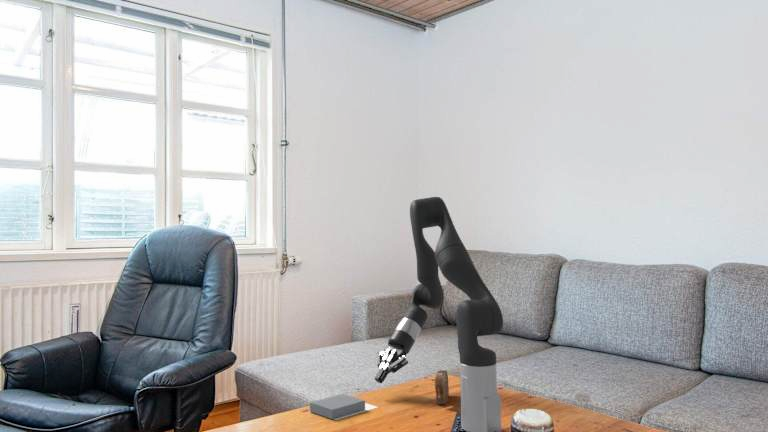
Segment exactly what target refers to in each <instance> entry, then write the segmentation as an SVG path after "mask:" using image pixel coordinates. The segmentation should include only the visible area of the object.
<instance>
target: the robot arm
mask: <svg viewBox="0 0 768 432" xmlns="http://www.w3.org/2000/svg"><path fill="white" fill-rule="evenodd" d="M409 218H410V219H409V220H410V226H411V233H412V238H413V244H414V249H415V250H414V251H415V255H416V276H417V277H416V278H417V281H418V283H420V284H417V285H416V286H415V287H414V288H413V290H412V293H411V299H410V302H409V305H408V308H407V311H406V312H405V313H404V315H403V317H402V319H401V320H400V321H399V322H398V324H397V325H396V327H395V329H394V330H393V332H392V333H391V335H390V337H389V339H388V342H387V346H386V347H385V348H384V350H383V351H376V352H375V356H376V357H375V359H376V366H377V367H378V371H377V373H376V374H375V376H374V380H375V381H376V383H378V384H383V382H384V381H385V380H386V378H387V376H388V375H389V374H391V373H392V374H395V373H397V372H398V371H399V370H401V369H402V368H403V367H405V366H407V365H408V364H409V361H408V359H407V358H406V357H407V355H408V354H409V353H410V352H411V350H412V348H413V346H414V344H415V342H416V341H417V339H418V338H419V335H420V333H421V330H422V329H423V327H424V325H425V324H426V322H427V320H428V317H429V316H428V312H427V311H426V310H425V309H424V308H422V307H421V306H423V307H426V308H429V309H431V310H432V309H433V310H437V309H439V308H441V307H442V306H443V303H444V299H445V294H444V290H443V286H442V283H441V280H440V276H439V270H440V272H441V274H442V275H443V277H444V278H445V280H447V281H448V282H449V283H450V284H452V285H453V286H455V288H457V289H459V290H460V291H461V292H462V293H464V294H465V295H466V296H467V297H468V298H469V299H468V300H467V299H466V300H463V301H460V302H459V303H458V305H457V309H456V313H455V315H456V316H455V317H456V319H455V322H456V334H457V336H456V337H457V349H458V354H459V375H460V376H459V377H460V379H459V380H460V381H459V382H460V383H459V384H460V387H459V388H460V421H461V422H460V423H461V424H460V427H462V429H464V430H466V431H471V432H494V431H497V432H502V412H501V411H502V410H501V409H502V407H501V406H502V405H501V403H502V402H501V401H502V400H501V394H500V393H498V383H497V382H498V381H497V379H498V378H497V376H498V375H497V374H498V373H497V353H496V352H495V351H494V350H492V349H490V348H486V347H484V346H482V345H480V344H479V340H478V339H479V338H478V337H485V336H494V335H496V334H499V333H500V332H501V331H502V330H503V326H504V318H503V313H502V311H501V308H500V306H499V303H498V302H497V300H496V299H495V297H494V295H492V293H491V291H490V290H489V288H488V287H487V285H486V284H485V282H484V280H483V279H482V277H481V275H480V274H479V272H478V270H477V269H476V266H475V264H474V262H473V260H472V258H471V256H470V254H469V251H468V250H467V248H466V247H465V245H464V243H463V241H462V239H461V238H460V236H459V233H458V232H457V229H456V227H455V225H454V222H453V220H452V217H451V214H450V212H449V209H448V208H447V204H446V203H445V201H444V200H443V198H442V197H439V196H430V197H424V198H417V199H415V200H412V201H411V202H410V205H409ZM433 227H434V228H435V227H439V228H440V230H441V231H440V236H439V238H438V240H437V243H436V245H435V249H434V248H432V246H431V245H430V243H428V241H427V240H426V238H425V236H424V231H423V229H427V228H433Z"/></svg>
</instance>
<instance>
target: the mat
mask: <svg viewBox="0 0 768 432" xmlns="http://www.w3.org/2000/svg"><path fill="white" fill-rule="evenodd" d="M378 408H379V406H377V405H373V404H370V403H366V402H365V409H364V410H361V411H358V412H354V413H351V414H348V415H344V416H341V417H338V418H335V419H332V420H334V421H339V420H342V419H345V418H348V417H352V416H355V415H358V414H360V413H364V412H365V413H366V412H368V411H371V410H374V409H378Z"/></svg>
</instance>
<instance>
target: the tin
mask: <svg viewBox="0 0 768 432" xmlns="http://www.w3.org/2000/svg"><path fill="white" fill-rule="evenodd" d="M434 379H435V380H434V388H435V397H436V399H435V402H436V404H437V405H446V404H447V403H448V400H449V394H450V393H449V391H450V390H449V389H450V388H449V378H448V372H447V370H437V372H436V375H435V378H434Z"/></svg>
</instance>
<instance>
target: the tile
mask: <svg viewBox="0 0 768 432" xmlns="http://www.w3.org/2000/svg"><path fill="white" fill-rule="evenodd" d="M365 403H366V400H364V399H361V398H358V397H354V396H350V395H348V394H344V393H341V394H337V395H333V396H329V397H324V398H322V399H319V400H315V401H311V402H309V412H311V413H313V414H316V415H318V416H319V415H320V416H322V417H325V418H328V419H330V420H333V419H335V418H338V417H341V416H344V415H348V414H351V413H354V412H358V411H361V410H364V409H365Z"/></svg>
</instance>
